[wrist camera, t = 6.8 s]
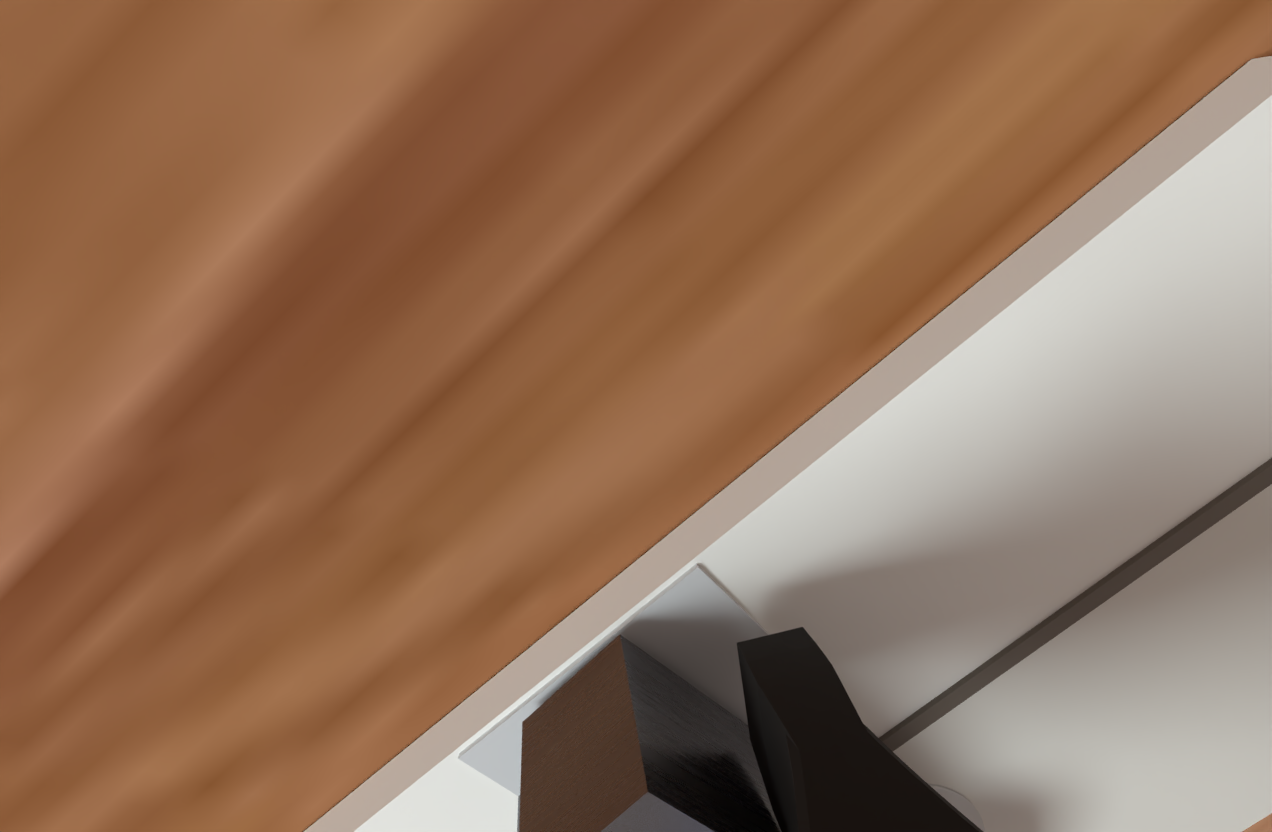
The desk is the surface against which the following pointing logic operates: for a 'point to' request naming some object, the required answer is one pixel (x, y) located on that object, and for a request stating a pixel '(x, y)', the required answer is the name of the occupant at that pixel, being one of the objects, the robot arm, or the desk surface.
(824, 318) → the desk surface
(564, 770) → the bar
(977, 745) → the door board
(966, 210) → the desk surface
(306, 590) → the desk surface
